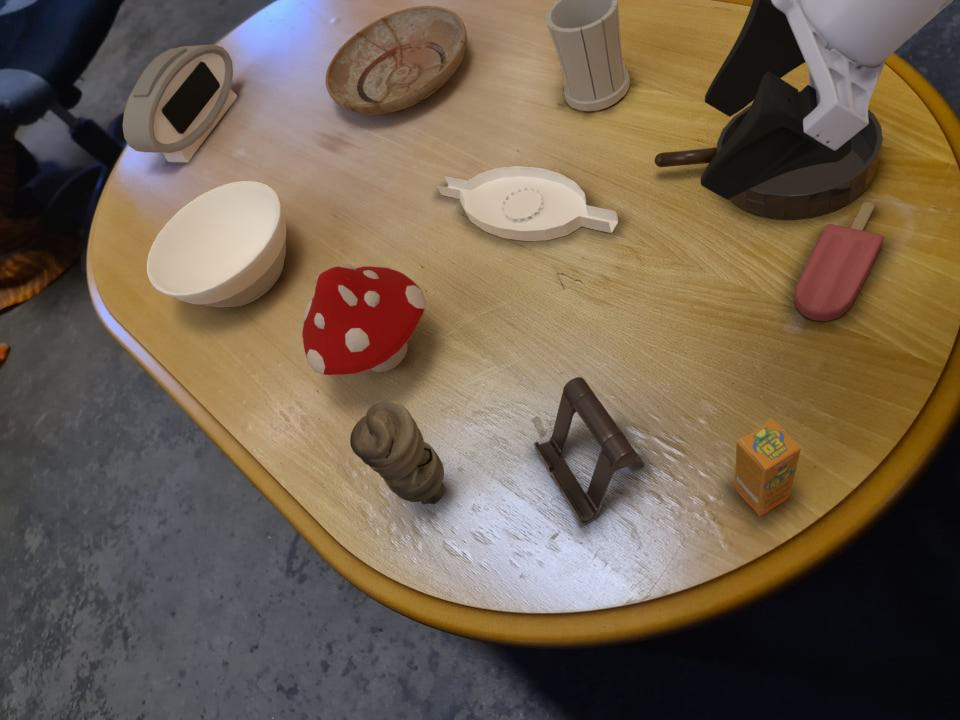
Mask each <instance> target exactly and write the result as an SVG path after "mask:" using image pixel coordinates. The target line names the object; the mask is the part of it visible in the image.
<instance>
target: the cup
mask: <svg viewBox="0 0 960 720" xmlns="http://www.w3.org/2000/svg"><path fill="white" fill-rule="evenodd" d="M619 9H620V8H619V0H556V1H555V2H554V3H553V4H552V5H551V7H549V9H548V11H547V13H546V16H545V22H546V25H547V28H548V31H549V34H550V38H551V41H552V43H553V46H554V49H555V53H556V56H557V59H558V62H559V66H560V69H561V73H562V76H563V81H564V84H563V93H564V98H565V101H566V103H567V104H568V105H569V106H570V108H572V109H575V110H577V111H582V112H598V111H601V110H604V109H607V108H609V107H612V106H613V105H615V104H617V103H618V102H619V101H621V99H623V97H625V96H626V94H627V92H628V91H629V89H630V85H631V77H630V73H629V70H628V68H627V67H626V66H625V60H624V54H623V53H624V52H623V46H622V36H621V26H620V25H621V24H620V11H619Z"/></svg>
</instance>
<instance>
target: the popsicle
mask: <svg viewBox="0 0 960 720" xmlns="http://www.w3.org/2000/svg"><path fill="white" fill-rule="evenodd" d="M875 207H876V206H875V203H873V202H870V201H865V202H863V203H862V204H861V206H860V208H859V210H858V212H857V214H856V216H855V217H854V219H853V222H852V224H851V226H850V227H847V226H843V225H839V224H838V225H837V224H833V223H827V224H826V225H825V226H824V228H823V230H822V232H821V234H820V237H819V238H818V240H817V242H816V244H815V246H814V248H813V250H812V252H811V254H810V255H809V258H808V259H807V262H806V264H805V266H804V268H803V270H802V273H801V275H800V277H799V279H798V281H797V283H796V285H795V287H794V305H795V307H796V309H797V310H798V311H799V313H800V314H801V315H803V316H804V317H806V319H809V320H812V321H817V322H828V321H832V320H835V319H839V318H840V317H842V316H843V315H844V314H845V313H847V312H848V311H849V310H850V309H851V308H852V306H853V304H854V301H855V300H856V298H857V296H858V294H859V292H860V290H861V289H862V287H863V284H864V283H865V281H866V279H867V277H868V275H869V273H870V271H871V269H872V268H873V265H874V264H875V261H876V259H877V258H878V255H879V253H880V251H881V249H882V246H883V245H884V240H885V236H884V234H882V233H881V234H880V233H875V232H872V231H871V232H870V231H866V230H865V228H866V226H867V224H868V221H869V220H870V218H871V215H872V213H873V211H874V209H875Z"/></svg>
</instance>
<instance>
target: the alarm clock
mask: <svg viewBox="0 0 960 720" xmlns="http://www.w3.org/2000/svg"><path fill="white" fill-rule="evenodd" d="M233 65H234V64H233V60H232V59H231V56H230V53H229V52H228V51H227V50H226V49H225V48H224V47H223V46H221V45H217V44H215V43H213V44H211V43H210V44H197V45H185V46H178V47H175V48H174V47H173V48H168V49H167V50H165V51H163V52H162V53H160V54H159V55H158V56H156V57H155V58H154V59H153V60H152V61H151V62H149V63H148V65H147V66H146V67H145V69H144V70H143V72H142V73H141V75H140V77H139V78H138V80H137V81H136V83H135V85H134V87H133V88H132V91H131V93H130V94H129V97H128V99H127V102H126V105H125V108H124V111H123V117H122V118H123V119H122V131H123V138H124V140H125V141H126V143H127V145H128V147H130V148H132V149H133V150H134V151H135V152H139V153H140V152H141V153H157V154H158V153H159V154H163V156H164V158H165V159H166V160H167V162H168V163H190V160H191V159H192V158H193V157H194V155H195V153H197V152H198V150H199V148H200V147H201V146H202V144H203V143H205V141H206V139H207V138H208V137H209V135H210V134H211V133H212V131H213V130H214V129H215V127H216V126H217V125H218V123H219V122H220V120H221V119H223V117H224V115H225V114H226V113H227V111H228V110H229V109H230V108H231V106H232V105H233V103H234V102H235V101H236V100H237V98H238V94H236V93H235V92H234V91H233V90H232V89H231V88H232V84H233V77H234V67H233Z"/></svg>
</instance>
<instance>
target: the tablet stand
mask: <svg viewBox="0 0 960 720" xmlns="http://www.w3.org/2000/svg"><path fill="white" fill-rule="evenodd" d="M576 413H577V415H578V416H579V417H580V419H581V420H582V422H583V423H584V425H585V426H586V428H587V429H588V431H589V432H590V434H591V435H592V437H593V438H594V440H595V441H596V443H597V444H598V446H599V447H600V448H601V449H600V452H599V455H598V458H597V461H596V463H595V466H594V470H593V473H592V476H591V479H590V482H589V485H588V488H587V491H586V492H585V491H584V489H583V487H582V486H581V484H580V482H579V481H578V480H577V478H576V476H575V475H574V473H573V471H572V470H571V468H570V467H569V465H568V463H567V461H566V460H565V459H564V456H563V455H564V452H565V447H566V444H567V441H568V438H569V437H568V436H569V434H570V433H569V432H570V429H571V425H572V421H573V418H574V415H575V414H576ZM533 445H534V450H535V451H536V453H537V454H538V456H539V457H540V459H541V461H542V463H543V464H544V466H545V468H546V469H547V472H548V473H549V475H550V476H551V478H552V479H553V482H554V483H555V484H556V487H557V488H558V490H559V491H560V493H561V495H562V496H563V498H564V500H565V502H566V503H567V505H568V506H569V509H570V510H571V512H572V513H573V515H574V517H575V519H576V520H577V521H578V523H579V524H580V525H587V524H589V523H591V522H593V521H594V520H595V519H596V518H597V517H598V516H599V513H600V511H601V509H602V505H603V503H604V500H605V498H606V494H607V492H608V489H609V486H610V483H611V481H612V479H613V476H614V474H615V473H616V472H617V471H619V470H621V469H625V468H626V467H628V466H630V465H631V464H635V465H637V466H640V467H644V466H645V462H644V460H643V459H642V457H641V456H640V455H639V454H638V453H637V451H636V450H635V449H634V446H633V445H632V444H631V443H630V442H629V440H628V439H627V437H626V435H625V434H624V432H623V431H622V430H621V429H620V428H619V426H618V425H617V423H616V421H615V420H614V419H613V417H612V416H611V415H610V414H609V412H608V411H607V409H606V408H605V406H604V404H602V402H601V400H600V399H599V398H598V397H597V396H596V394H595V393H594V391H593V390H592V388H591V387H590V385H589V384H588V382H587V381H586V380H585V378H584V377H582V376H579V377H578V376H576V377H574V378H572V379H569V381H567V382H566V384H565V385H564V386H563V389H562V393H561V396H560V401H559V405H558V409H557V413H556V417H555V422H554V426H553V430H552V434H551V437H550V438H549V441H546V442H543V443H539V441H535V442H534V444H533Z"/></svg>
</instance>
